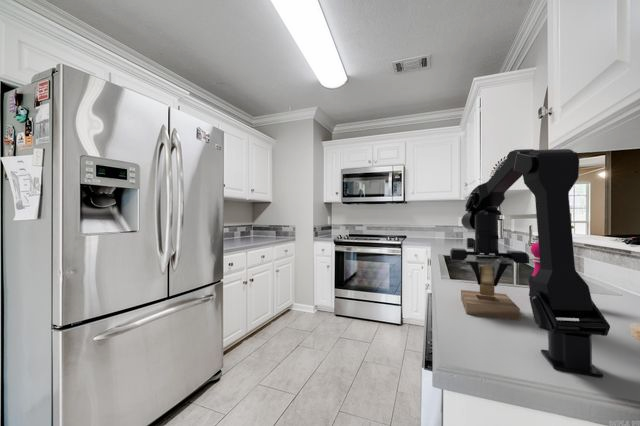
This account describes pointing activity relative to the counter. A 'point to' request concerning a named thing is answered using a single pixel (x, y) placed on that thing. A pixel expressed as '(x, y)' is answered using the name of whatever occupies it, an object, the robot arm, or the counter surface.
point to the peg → (486, 280)
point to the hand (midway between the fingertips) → (486, 285)
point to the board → (489, 305)
